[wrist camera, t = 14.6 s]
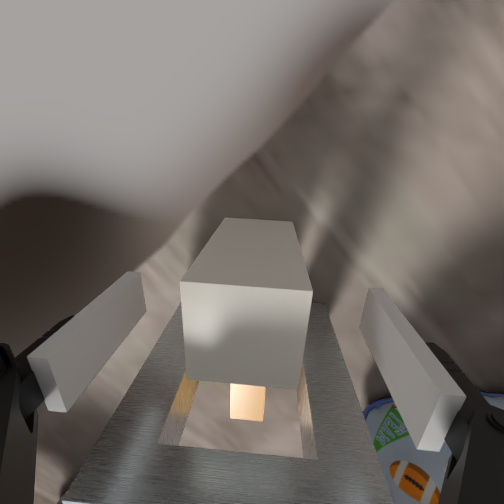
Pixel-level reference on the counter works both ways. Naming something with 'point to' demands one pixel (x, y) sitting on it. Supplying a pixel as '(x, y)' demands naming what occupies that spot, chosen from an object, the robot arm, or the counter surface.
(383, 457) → the lunch box
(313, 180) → the counter surface
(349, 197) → the counter surface
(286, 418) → the counter surface
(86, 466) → the housing
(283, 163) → the counter surface
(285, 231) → the plug
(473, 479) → the robot arm
